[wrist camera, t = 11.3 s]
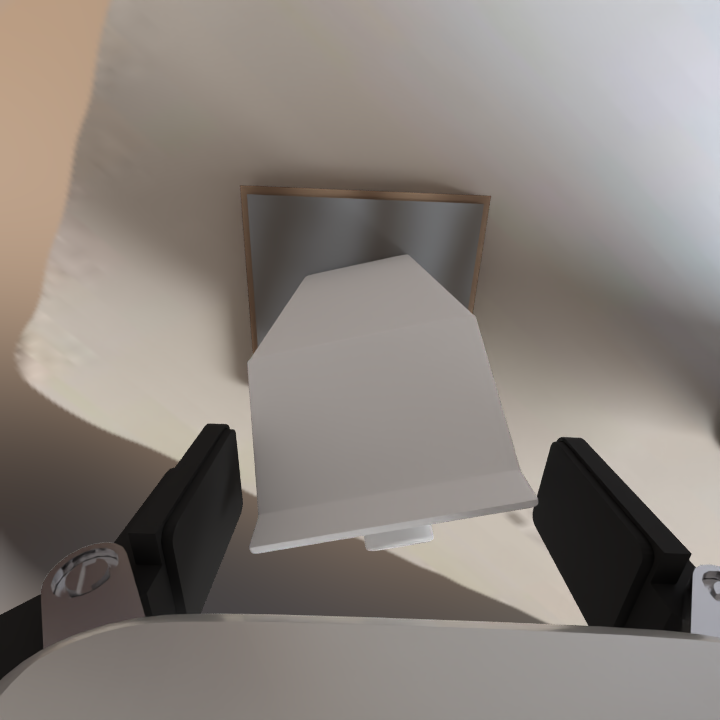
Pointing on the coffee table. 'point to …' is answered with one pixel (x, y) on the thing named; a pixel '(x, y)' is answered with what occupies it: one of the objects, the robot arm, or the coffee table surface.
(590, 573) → the robot arm
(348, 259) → the framed mirror
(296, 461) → the milk carton
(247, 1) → the coffee table surface
